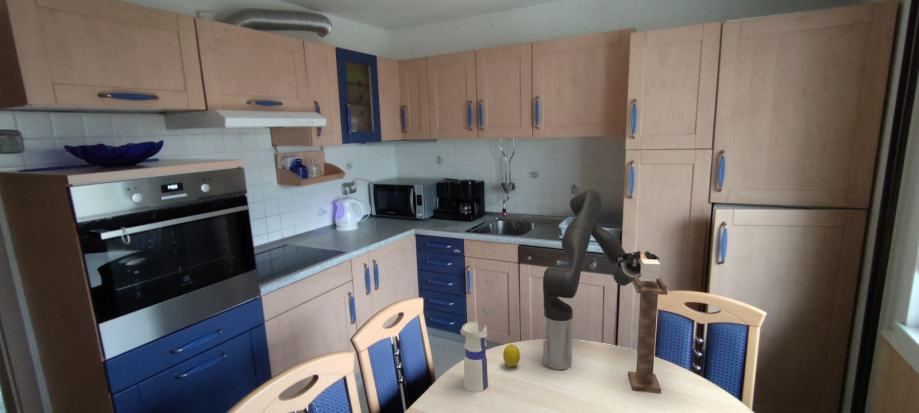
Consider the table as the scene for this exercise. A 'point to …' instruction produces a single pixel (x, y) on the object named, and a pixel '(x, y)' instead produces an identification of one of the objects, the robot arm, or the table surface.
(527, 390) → the table surface
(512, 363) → the lemon
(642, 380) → the tall stand
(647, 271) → the plug rod
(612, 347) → the table surface
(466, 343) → the white and blue pitcher
